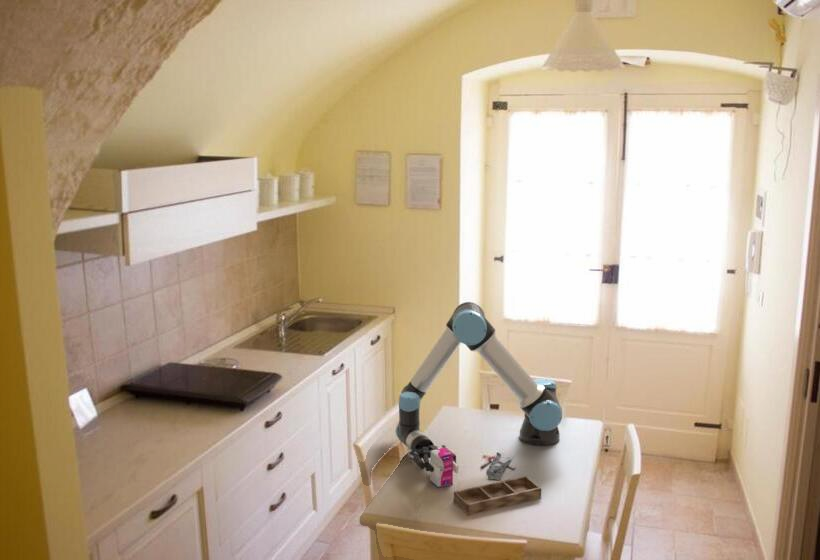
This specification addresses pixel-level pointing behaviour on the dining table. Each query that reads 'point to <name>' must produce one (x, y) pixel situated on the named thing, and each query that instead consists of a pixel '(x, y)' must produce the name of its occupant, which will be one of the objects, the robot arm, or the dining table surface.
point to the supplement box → (442, 467)
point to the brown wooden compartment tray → (497, 495)
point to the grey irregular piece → (496, 468)
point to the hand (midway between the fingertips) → (448, 471)
